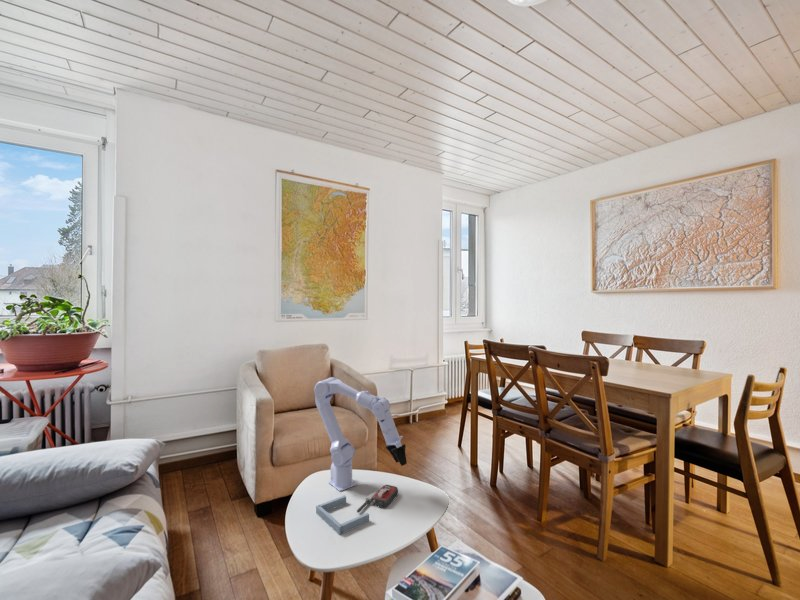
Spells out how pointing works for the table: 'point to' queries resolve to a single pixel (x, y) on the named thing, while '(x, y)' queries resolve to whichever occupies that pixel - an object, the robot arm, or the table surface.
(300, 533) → the table surface
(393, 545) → the table surface
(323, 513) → the grey pronged cradle
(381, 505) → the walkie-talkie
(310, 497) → the table surface
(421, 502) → the table surface
